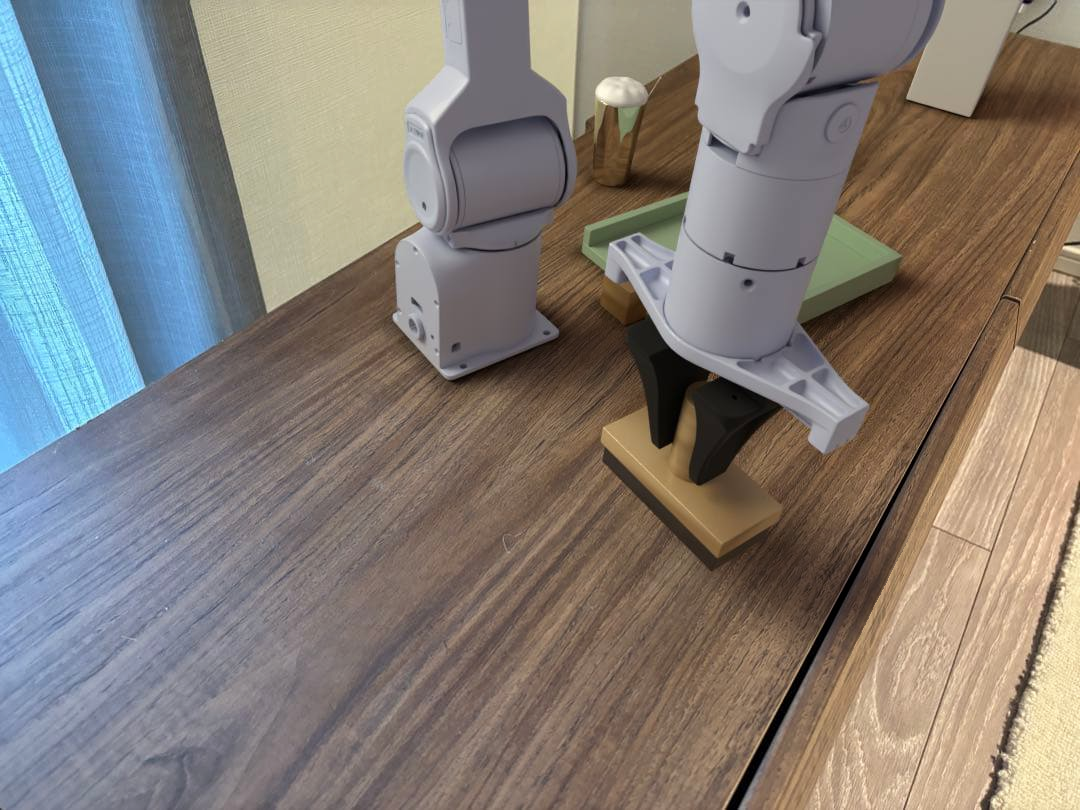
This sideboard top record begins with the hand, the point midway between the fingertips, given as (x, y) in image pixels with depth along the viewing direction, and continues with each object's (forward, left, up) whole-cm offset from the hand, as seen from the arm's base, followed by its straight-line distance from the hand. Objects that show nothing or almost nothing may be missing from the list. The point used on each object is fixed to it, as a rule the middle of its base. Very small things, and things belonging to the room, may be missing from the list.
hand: (688, 456), depth 45 cm
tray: (+24, +18, -8) cm, 31 cm away
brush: (0, 0, -4) cm, 4 cm away
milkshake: (+24, +34, -8) cm, 42 cm away
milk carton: (+69, +30, -8) cm, 76 cm away
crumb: (+13, +18, -8) cm, 23 cm away
